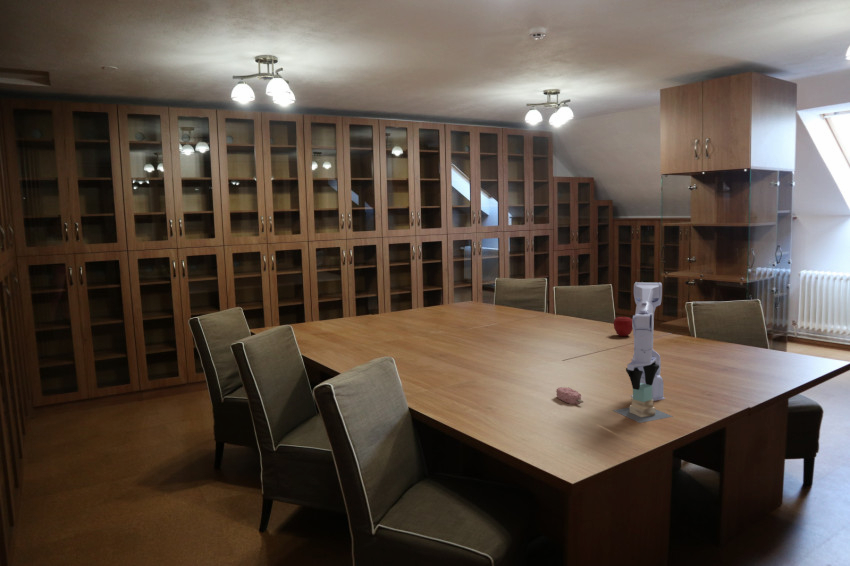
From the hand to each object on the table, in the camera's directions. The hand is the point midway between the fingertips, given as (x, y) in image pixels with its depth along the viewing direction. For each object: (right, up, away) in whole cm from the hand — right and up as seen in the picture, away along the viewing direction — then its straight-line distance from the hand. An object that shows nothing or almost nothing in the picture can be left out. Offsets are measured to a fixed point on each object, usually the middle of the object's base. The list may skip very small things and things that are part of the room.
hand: (642, 386), depth 205 cm
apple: (+36, +6, +128) cm, 133 cm away
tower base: (0, -10, +1) cm, 10 cm away
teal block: (0, -5, +1) cm, 4 cm away
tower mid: (0, -7, +1) cm, 7 cm away
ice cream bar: (-21, -9, +18) cm, 29 cm away
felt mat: (0, -10, +1) cm, 10 cm away
